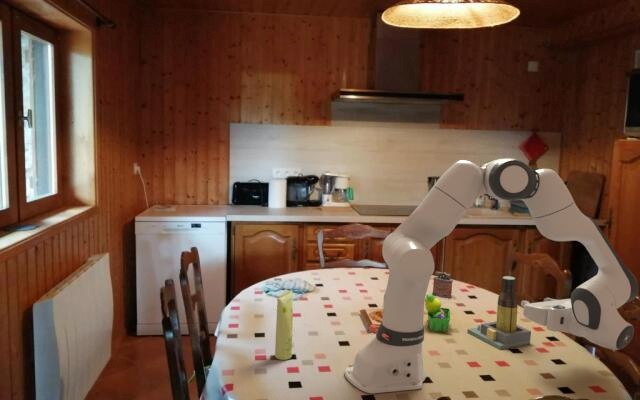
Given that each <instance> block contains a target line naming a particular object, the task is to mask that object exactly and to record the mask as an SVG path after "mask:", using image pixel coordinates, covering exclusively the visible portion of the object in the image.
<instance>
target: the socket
mask: <svg viewBox="0 0 640 400" xmlns="http://www.w3.org/2000/svg"><path fill="white" fill-rule="evenodd" d="M489 322H490V323H487V322H484V324H482V323H480V324H481V326H480V327H481V332H480V333H482V334H484V335H486V338H488V339H490V340H492V341H495V340H496V341H498V342H500V343H502V344H504V345H508V344H513V343H518V342H523V341H528V340H530V341H531V338H532V337H531V335H532V330H529V329H527V328H525V327H522V326H520V325H519V324H516V332H512V333H504V332H502V331H499V330H497V329H496V323H497V320H496V321H494V322H491V321H489Z"/></svg>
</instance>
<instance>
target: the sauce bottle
mask: <svg viewBox="0 0 640 400" xmlns="http://www.w3.org/2000/svg"><path fill="white" fill-rule="evenodd" d="M501 279H502V280H501V281H502V288H501V289H502V290H501V292H500V293H499V295H498V297H497V307H496V308H497V309H496V310H497V311H496V321H497V323H496V329H497V330H499V331H502V332H504V333H512V332H516V325H518V324H517V323H518V322H517V321H518V301H519V299H518V297H517V295H516V293H515V287H516V286H515V283H516V277H514V276H511V275H508V276H507V275H506V276H503V277H502V278H501Z"/></svg>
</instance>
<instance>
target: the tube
mask: <svg viewBox="0 0 640 400" xmlns="http://www.w3.org/2000/svg"><path fill="white" fill-rule="evenodd" d="M275 324H276V325H275V327H276V328H275V343H274V344H275V345H274V347H275V348H274V356H275V358H276V359H277V360H282V361H286V360H289V359H291V358H292V357H293V289H290V290H289V291H286V292H284V293H283V294H281V295H279V296H278V297H277V306H276V323H275Z"/></svg>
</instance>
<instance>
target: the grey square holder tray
mask: <svg viewBox="0 0 640 400" xmlns="http://www.w3.org/2000/svg"><path fill="white" fill-rule="evenodd" d="M490 322H495V321H494V320H491V321H486V323H490ZM484 323H485V322H484V321H483V322H482V323H480V322H477V326H476V327H472V328H468V329H467V333H468V334H470V335H471V336H473V337H475V338H477V339H479V340H481V341H483V342H485V343H487V344H488V345H490V346H492V347H494V348H496V349H498V350H503V349H504V350H505V349H509V348H515V347H520V346H524V345H525V346H526V345H529V344H531V339H530V340H528V341H523V342H518V343H513V344H508V345H504V344H502V343H500V342H498V341H496V340H495V341H492V340H490V339H488V338H486V335H484V334H482V333H480V332H481V324H484Z"/></svg>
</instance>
